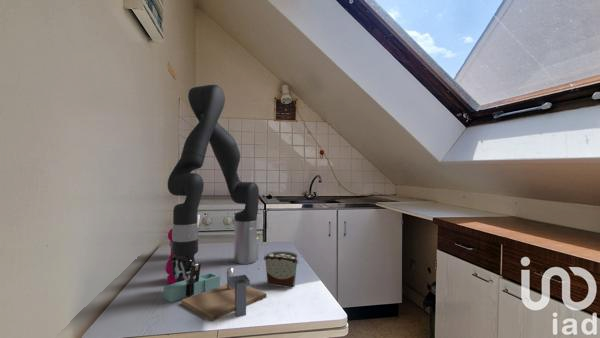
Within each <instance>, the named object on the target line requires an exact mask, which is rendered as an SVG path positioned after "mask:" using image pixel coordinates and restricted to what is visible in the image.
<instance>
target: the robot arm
mask: <svg viewBox="0 0 600 338" xmlns="http://www.w3.org/2000/svg"><path fill="white" fill-rule="evenodd" d="M187 96H188V103H189V105H190V107H191V110H192V112H193V113H194V116H195V118H196V119H197V120H198V122H197V124H196V125H195V127H193V129H192V130H191V132H190V133H188V136H187V137H186V139H185V142H184V144H183V147H182V151H181V155H180V159H179V160H178V161H177V163H176V164H175V166H174V168H172V171H171V173H170V174H169V177H168V178H167V190H168V192H169V193H170V194H171V195H172V196H176V197H178V196H179V197H181V196H182V197H185V200H184V202H182V203H179V204H175V205H174V207H173V212H172V215H173V217H172V218H173V219H172V228H173V229H172V228H171V229H172V254H173V255H175V256H172V257H171V266H172V275H173V276H174V275H175V279H176V283H177V282H180V281H184V278H183V277H185V279H186V296H187V297H186V298H188V297H191V296H194V295H195V294H194V283H195V282H198V281H199V275H201V274H200V273H201V267H202V266H201V262H196V259H195V255H196V254H198V252H199V226H198V223H197V219H198V215H199V213H198V212H199V211H198V209H199V206H200V202H201V198H202V195H203V192H204V186H205V185H204V180H203V177H202V176H201V175H200V174H198V173H196V172H194V173H193V171H194V170H198V169H201V168H202V167H203V165H204V162H205V158H206V154H207V149H208V146H209V144H210V147H211V149H212V152H213V155H214V157H215V159H216V161H217V162H218V166H219V168H220V169H221V173H222V174H223V177H224V180H225V183H226V187H227V189H228V193H229V196H230V198H231V200H232V201H233V202H234V203H235V204H239V205H241V204H242V205H244V209H243V210H241V211H238V212H236V213H234V245H233V246H234V248H233V249H234V255H233V256H234V257H233V260H234V263H235V264H238V265H247V264H254V263H256V262H257V261H258V260H259V237H258V236H257V235H258V234H257V232H258V231H257V230H258V227H257V226H258V225H257V223H258V212H259V202H260V201H259V199H260V191H259V186H258V184H257V183H256V182H252V181H251V182H250V181H241V180H240V178H239V175H238V168H239V164H240V161H241V152H240V150H239V146H238V144H237V142H236V140H235V138H234V136H232V134H231V133H230V132H229V131H227V130H226V129H225V128H224V127H223V126H222V125H221V124H220V123H219V122H218V121H219V119H220V116H221V114H222V112H223V110H224V106H225V102H226V96H225V93H224V91H223V89H222V87H221V86H219V85H217V84H208V85H207V84H206V85H205V84H204V85H200V86H199V85H198V86H194V87H191V88H190V89H189V91H188V94H187ZM195 277H196V278H195Z"/></svg>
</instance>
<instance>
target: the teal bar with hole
mask: <svg viewBox="0 0 600 338" xmlns="http://www.w3.org/2000/svg"><path fill="white" fill-rule="evenodd" d="M195 278H196V276H195ZM220 286H221V275H219V274H217V273H214V272H212V271H209V272H207V273H203V274H200V275H199V281H198V282H195V283H194V295H197V294H200V293H203V292H206V291H208V290H211V289H214V288H217V287H220ZM185 298H188V297H187V296H186V280H184V281H180V282H177V283H173V284H170V283H169V284H167V285H163V299H165V300H166V301H168V302H170V303H173V302H177V301H179V300H182V299H185Z"/></svg>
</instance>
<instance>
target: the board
mask: <svg viewBox="0 0 600 338" xmlns="http://www.w3.org/2000/svg"><path fill="white" fill-rule="evenodd" d="M266 298H267V293H266V292H264V291H262V290H259V289H256V288H255V287H252V286H250V285H248V286H246V307H247V306H250V305H252V304H254V303H257V302H260V301H261V300H263V299H266ZM180 304H181V305H183V306H184V307H186V308H188V309H190V310H191V311H193V312H194V313H196V314H198V315H199V316H201V317H203V318H205V319H206V320H208V321H210V322H212V321H215V320H218V319H220V318H222V317H225V316H227V315H230V314H231V313H235V287H234V288H233V289H232V290H227V283H226V284H224V285H220V287H217V288H214V289H211V290H208V291H203V292H200V293H197V294H194V295H192V296H189V297H186V298H183V299H181V303H180Z"/></svg>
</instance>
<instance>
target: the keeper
mask: <svg viewBox="0 0 600 338" xmlns="http://www.w3.org/2000/svg"><path fill="white" fill-rule="evenodd" d="M228 283H229V285H230V287H231V288H234V287H235V311H234V314H235V316H236V317H242V316H246V315H247V306H246V286H251V285H250V283H251V281H250V279H249V277H248V276H247V275H246V274H241V275H233V277H228Z"/></svg>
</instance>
